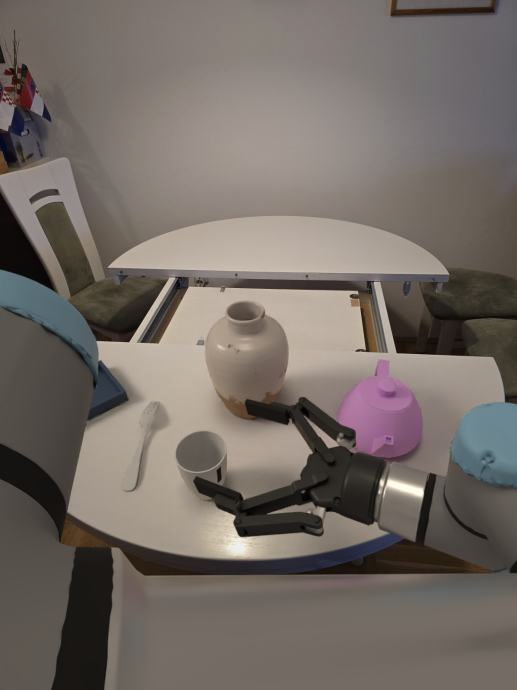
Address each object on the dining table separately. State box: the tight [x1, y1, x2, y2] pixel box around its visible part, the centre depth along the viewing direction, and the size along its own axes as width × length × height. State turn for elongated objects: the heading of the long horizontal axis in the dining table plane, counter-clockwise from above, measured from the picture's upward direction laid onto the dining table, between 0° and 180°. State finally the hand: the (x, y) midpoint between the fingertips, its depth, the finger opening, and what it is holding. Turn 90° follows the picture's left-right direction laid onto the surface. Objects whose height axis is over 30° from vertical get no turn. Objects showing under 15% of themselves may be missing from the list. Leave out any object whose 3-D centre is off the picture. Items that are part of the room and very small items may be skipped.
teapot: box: [336, 358, 424, 459], centre depth 74 cm, size 22×16×12 cm
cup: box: [173, 429, 228, 501], centre depth 66 cm, size 8×8×10 cm
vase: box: [204, 300, 290, 420], centre depth 78 cm, size 16×16×23 cm
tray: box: [87, 359, 130, 422], centre depth 86 cm, size 14×14×3 cm
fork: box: [121, 401, 160, 492], centre depth 77 cm, size 3×21×3 cm, turn 178°
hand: (224, 442), depth 55 cm, fingers open, 13 cm apart
